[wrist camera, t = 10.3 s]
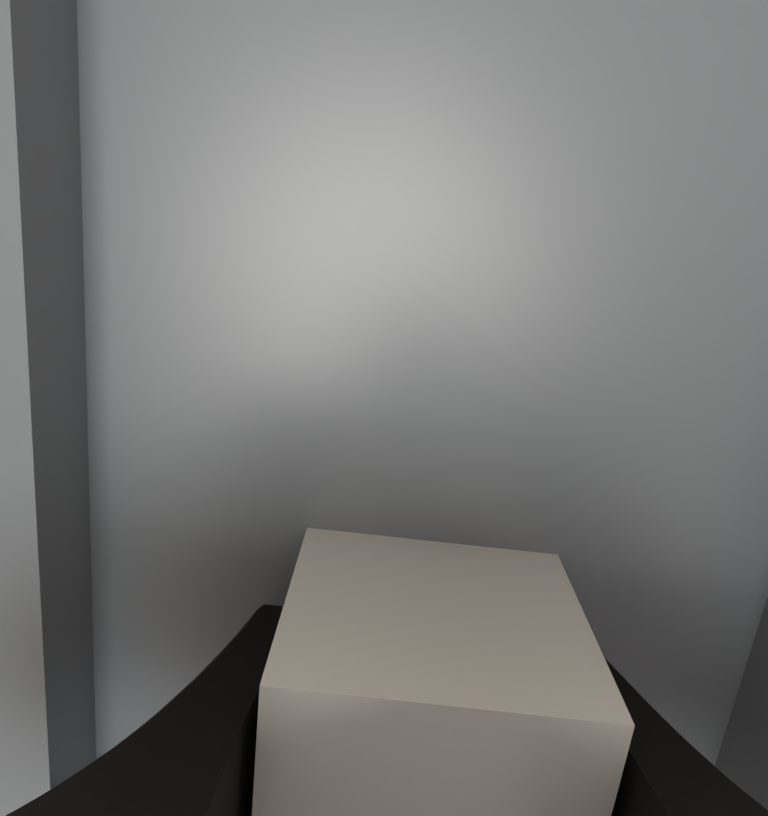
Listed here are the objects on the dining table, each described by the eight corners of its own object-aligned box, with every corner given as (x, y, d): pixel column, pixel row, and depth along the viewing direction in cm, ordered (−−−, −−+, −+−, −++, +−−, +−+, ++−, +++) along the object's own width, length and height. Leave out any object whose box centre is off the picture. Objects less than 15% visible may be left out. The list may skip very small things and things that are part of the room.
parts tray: (1054, -212, 9) (1293, -368, 7) (708, 853, 14) (769, 981, 12) (21, -331, 9) (-119, -529, 6) (67, 785, 14) (0, 901, 12)
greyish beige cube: (557, 554, 12) (634, 726, 8) (516, 755, 13) (565, 989, 9) (307, 527, 12) (259, 685, 8) (290, 731, 13) (243, 955, 9)
